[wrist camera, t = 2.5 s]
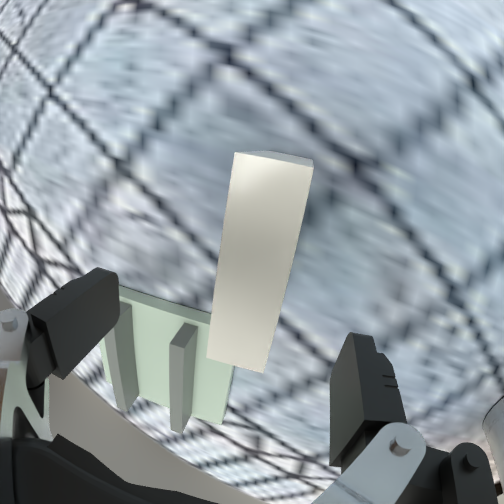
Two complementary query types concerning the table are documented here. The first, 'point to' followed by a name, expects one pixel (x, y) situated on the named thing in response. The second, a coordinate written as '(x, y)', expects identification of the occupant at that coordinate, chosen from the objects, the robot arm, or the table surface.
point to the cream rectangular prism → (256, 254)
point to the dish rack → (165, 359)
